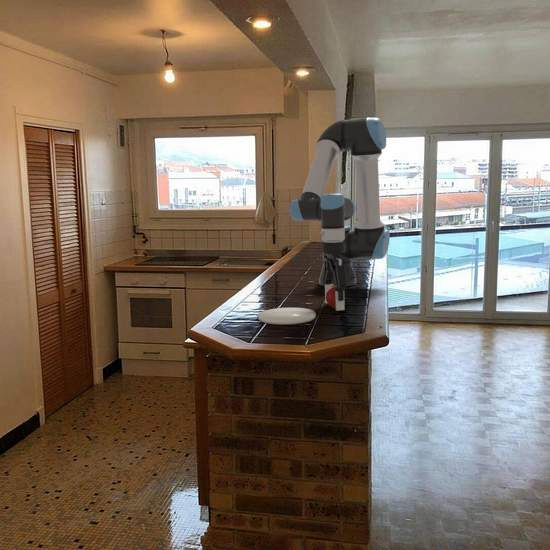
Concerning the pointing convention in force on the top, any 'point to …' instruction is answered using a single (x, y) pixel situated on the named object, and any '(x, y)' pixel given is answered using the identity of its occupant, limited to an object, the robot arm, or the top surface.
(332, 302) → the onion
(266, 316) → the plate
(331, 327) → the top surface
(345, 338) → the top surface
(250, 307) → the top surface
